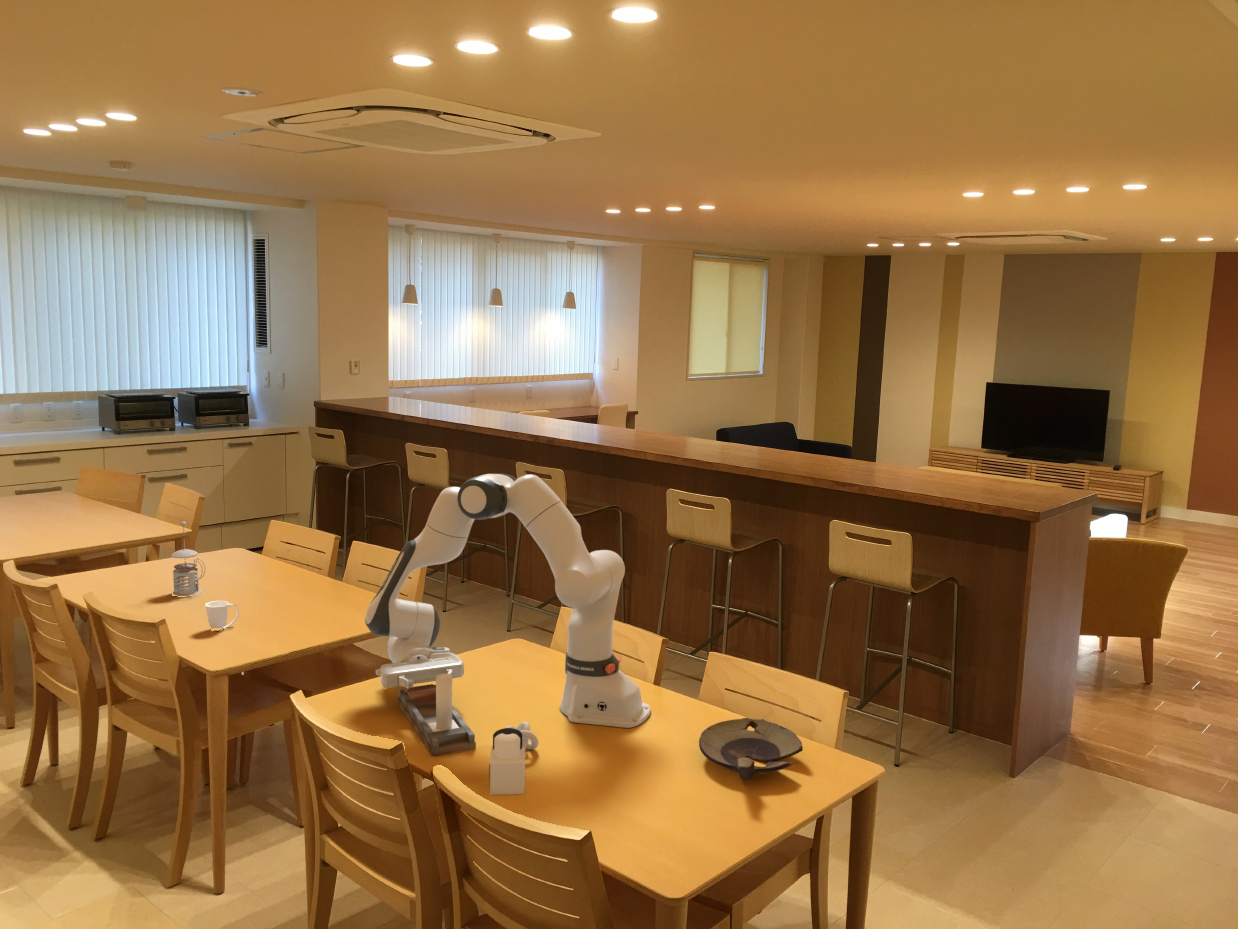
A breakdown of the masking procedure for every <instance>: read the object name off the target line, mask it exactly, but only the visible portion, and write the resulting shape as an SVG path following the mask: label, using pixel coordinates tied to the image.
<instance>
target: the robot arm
mask: <svg viewBox="0 0 1238 929" xmlns="http://www.w3.org/2000/svg"><path fill="white" fill-rule="evenodd" d="M509 514H513V515H515V516H516V518H517V519H518V520H519V521H520V522H521V524H522V525H523V526H524V528H525V529H526V530H527V532H528V533H529V534H530V536H531V537H532V539H533V540H534V541H535V542H536V544H537V546H538V547H539V548H540V550H541V552H542V553H543V554H544V556H545V559H546V560H547V562H548V565H549V567H550V570H551V572H552V574H553V577H554V581H555V582H554V590H555V594H556V597H557V598H558V600H559V601H560V602H561V603H562V604H563V605H564V606H566V607H568V608H570V609H572V612H571V615H570V617H569V620H568V622H567V623H568V624H567V651H566V652H565V661H564V667H565V668H564V670H565V682H564V683H565V684H564V690H563V694H562V699H561V702H560V704H559V710H560V711H561V713H562V714H563V715H565V716H566V717H567V718H568V720H569V721H570V722H571V723H578V724H587V725H598V726H605V727H606V726H607V727H616V728H625V729H626V728H627V729H630V728H634V727H637V726H638V725H641V724H642V723H644V722H645V721H646V720H647V719H648V718H649V717H650V715H651V706H650V704H648V703H646V702H643V701H642V700H643V699H642V692H641V690H640V687H639V685H638V684H637V683H635V682H634V681H633V680H631V678H630V677H628V676H627V675H626V673H623V672H622V670H620V668H619V666H620V663H621V662H622V657H621V656H620V657H618V658H617V657H616V656H615V655H614V653H613V638H614V637H613V635H614V634H613V633H614V621H615V615H616V610H617V605H618V600H619V594H620V588H621V584H622V582H623V579H624V577H625V572H626V566H625V563H624V561H623V558H622V557H621V556H620V555H619V553H617V552H616V551H613V550H609V549H600V550H597V549H596V550H593V551H591V552H589V550H588V549H587V546H586V543H585V542H584V540H583V539H584V538H583V536H582V528H581V527H582V526H581V525H580V524H579V522H578V521H577V519H576V518H575V517H574V516H573V514H572V513H571V512H570V510H569V509H568V508H567V507H566V505H565V504H564V502H563V501H562V500H561V499H560V497H559V496H558V495H557V494H556V493H555V491H554V490H553V489H551V487H550V486H549V485H548V484H547V483H546V482H545V481H544V480H543V479H542V478H541V477H539V476H538V475H536V474H525V475H524V474H523V475H522V476H520V477H518V478H515V477H514V476H513V475H511V474H507V473H502V472H500V473H485V474H481V475H478V476H474V477H470V478H469V479H467V480H466V481H465V482H464V483H462V485H461V486H448V487H446V488H444V489H443V490H442V491H440V493H439V495H438V497H437V498H436V499H435V502H434V504H433V506H432V508H431V511H430V512H429V515H428V517H427V521H426V523H425V526H424V528H423V529H422V530H421V532H420V533H419V535H417V536H416V537H415V538H414V539H412V540H409V541H407V542H406V543H405V544H404V546H403V547H402V548H401V550H400V552H399V553H398V555H397V557H396V558H395V560H394V562H393V564H392V565H391V568H390V570H389V571H388V573H387V576H386V578H385V580H384V581H383V583H382V585H381V587H380V589H378V592H377V593H376V595H375V596H374V597H373V599H372V601H370V603H369V606H368V607H367V610H366V612H365V617H364V620H365V622H364V623H365V625H366V627H367V628H368V630H369V631H370V633H372V634H373V635H374V636H375V637H377V636H378V637H389V639H388V641H387V646H386V647H387V648H386V649H387V654H388V657H389V659H390V661H391V662H390V663H385V664H382V665H381V666H380V668H377V669H375V674H376V676H378V677H380V684H381V686H382V687H383V688H387V689H389V688H390V689H391V688H396V687H403V688H405V689H406V688H407V689H410V688H413V687H414V685H416V684H423V683H430V682H431V683H432V682H436V676H437V675H439V674H450V675H452V679H457V678H462V677H463V676H464V675H465V664H464V661H463V660H462V659H461V658H460V657H459V656H458V655H457V654H456V653H453V652H451V649H450V648H449V647H443V646H442V647H439V646H433V645H434V644H435V642H436V641H437V637H438V636H439V632H440V626H441V621H440V615H439V613H438V611H437V608H436V607H435V606H434V605H433V604H432V603H431V604H430V603H425V602H419V601H412V600H406V599H401V598H398V596H399V594H400V592H401V590H402V589H403V586H405V583H406V581H407V579H408V578H409V576H410V575H411V573H413V572H415V571H416V570H418V569H421V568H424V567H430V566H435V565H442V564H446V563H449V562H451V561H453V560H455V559H456V558H458V557H459V556H460V555H461V553H462V552H463V550H464V549H465V547H466V544H467V541H468V538H469V536H470V533H471V529H472V527H473V524H474V522H475V520H479V521H481V520H488V519H496V518H497V519H498V518H500V517H502V516H504V515H509Z"/></svg>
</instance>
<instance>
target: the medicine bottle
mask: <svg viewBox="0 0 1238 929" xmlns="http://www.w3.org/2000/svg"><path fill="white" fill-rule="evenodd" d="M488 763H489V766H488V768H489V770H488V778H489V780H488V781H489V782H488V783H489V785H488V786H489V788H488V793H489V795H490V796H495V795H497V796H500V795H503V796H504V795H506V796H507V795H524V794H525V793H526V792H525V788H526V787H525V783H526V780H525V779H526V750H525V747H522V733H521V732H520V731H519V730H517V729H513V728H506V727H505V728H499V729H497V730H496V731H494V733H493V734H492V747H491V748H490V755H489V762H488Z"/></svg>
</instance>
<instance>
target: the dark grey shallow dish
mask: <svg viewBox="0 0 1238 929" xmlns="http://www.w3.org/2000/svg"><path fill="white" fill-rule="evenodd" d="M749 727H751V728H752V729H754V730H749V729H748V728H749ZM698 739H699V740H698V746H699V749H700V752H701V753H702V755H703V756H704V757H705V758H706V759H707V760H709V761H710V762H712V763H714V764H715V765H717V766H719V767H721V768H723V769H726V770H728V771H732V772H734V773H737V774H738V775H739V777H740V779H741V780H742V781H745V782H747V781H751V780H752V779H753V778H754V777H755V776H756V775H762V774H771V773H774V772H778V771H781V770H784V769H787V768H788V767H790V766H792V765H794V764H795V762H794V761H781V760H785V759H787V758H790V757H792V756H795V755H797V754H799V753H801V752H803V742H802V741H801V739H800V738H799V737H798V735H797V734H796V733H794V732H793V731H792V730H791V729H788V728H786V727H785V726H782V725H779V724H778V723H774V722H771V721H767V720H765V719H763V718H762V719H759V718H758V719H757V718H756V719H755V718H754V719H753V718H749V717H742V718H736V719H728V720H724V721H720V722H717V723H714V724H711V725H709V726H708V727H706V729H704V730H702V732H701V733H700V737H699V738H698ZM754 760H755V761H758V762H762V763H766V765H764V766H757V765H755V761H754Z"/></svg>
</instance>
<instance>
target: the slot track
mask: <svg viewBox="0 0 1238 929" xmlns="http://www.w3.org/2000/svg"><path fill="white" fill-rule="evenodd" d="M397 705H398V707H399V708H400V709H401V711H402V712H403V715H404V716H405V717H406V719H407V720H408V722H409V723H410V725H411V726H412V728H413V729H414V731H415V732H416V734H417V736H418V737H419V739H420V740H421V742H422V743H423V745H424V746H425V748H426V749H427V751H428V753H429V754H430V756H431V757H432V756H434V757H438V756H444V755H445V756H446V755H449V754H450V755H451V754H455V753H461V752H466V751H472V750H476V749H477V742H476V741H475V740H476V736H475V733H474V732H473V730H472V729H471V728H470V727H469V726H468V724H467V723H466V721H465V720H464V719H463V717H462V716H461V714H459V712H458V711H457V709H456V708H455V707H454V706H453V705H452V720H454V721H455V723H456V724H457V725H458V727H459V728H454V729H448V730H442V731H436V732H432V730H431V729H430V727H429V726H428V724H429V723H435V722H436V684H433V683H431V684H424V685H417V686H413V688H410V689H407V688H406V687H405V689H398V697H397Z"/></svg>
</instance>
